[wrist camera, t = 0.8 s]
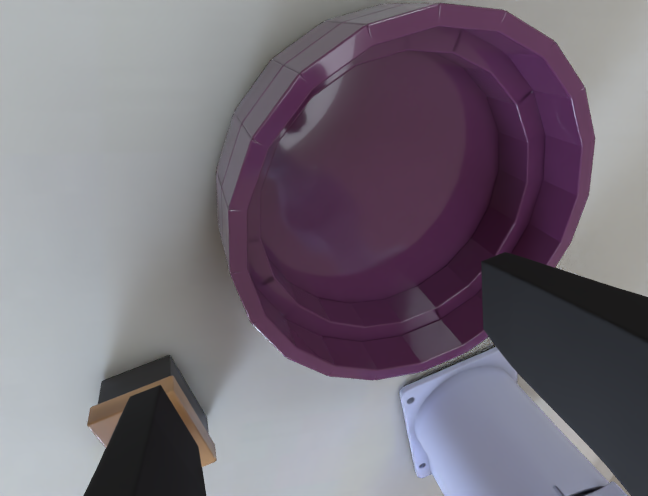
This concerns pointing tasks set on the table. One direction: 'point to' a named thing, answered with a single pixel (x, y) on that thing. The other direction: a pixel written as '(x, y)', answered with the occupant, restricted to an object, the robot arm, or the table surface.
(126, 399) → the rubber stamp
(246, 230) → the bowl
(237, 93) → the table surface
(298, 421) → the table surface
